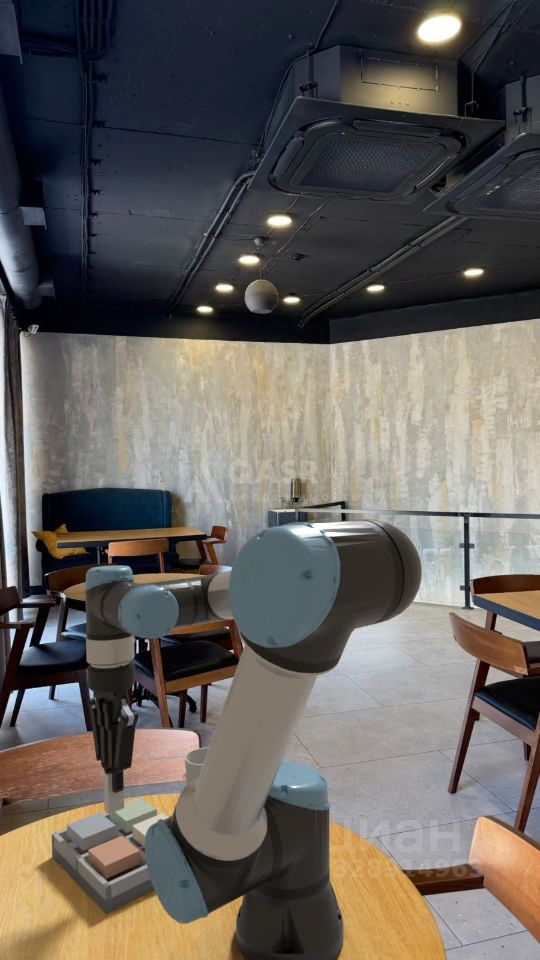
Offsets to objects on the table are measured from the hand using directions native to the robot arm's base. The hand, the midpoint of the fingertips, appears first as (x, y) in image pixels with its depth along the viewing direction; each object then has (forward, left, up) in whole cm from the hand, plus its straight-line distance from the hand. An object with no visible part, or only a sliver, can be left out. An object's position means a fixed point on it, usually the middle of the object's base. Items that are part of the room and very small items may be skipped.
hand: (114, 809), depth 102 cm
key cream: (0, -8, -8) cm, 11 cm away
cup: (+6, -23, -12) cm, 26 cm away
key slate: (+8, 0, -8) cm, 11 cm away
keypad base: (+4, -4, -12) cm, 13 cm away
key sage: (+8, -8, -8) cm, 14 cm away
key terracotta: (0, 0, -9) cm, 9 cm away
